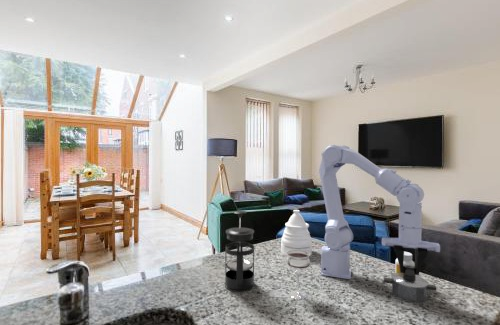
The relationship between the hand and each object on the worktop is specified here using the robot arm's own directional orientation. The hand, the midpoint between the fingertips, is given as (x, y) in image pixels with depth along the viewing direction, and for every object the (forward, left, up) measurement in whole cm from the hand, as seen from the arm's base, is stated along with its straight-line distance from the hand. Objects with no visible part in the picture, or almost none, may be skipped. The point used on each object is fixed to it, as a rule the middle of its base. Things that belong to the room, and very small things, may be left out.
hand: (409, 272), depth 80 cm
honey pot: (-38, +24, -7) cm, 45 cm away
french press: (-48, -13, -7) cm, 50 cm away
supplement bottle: (0, +8, -7) cm, 10 cm away
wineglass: (-30, -12, -7) cm, 33 cm away
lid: (0, 0, -2) cm, 3 cm away
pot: (0, 0, -7) cm, 7 cm away
